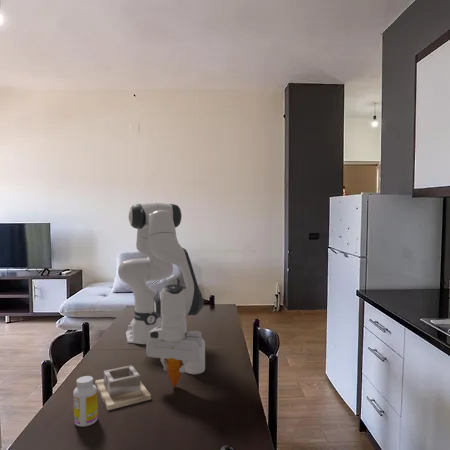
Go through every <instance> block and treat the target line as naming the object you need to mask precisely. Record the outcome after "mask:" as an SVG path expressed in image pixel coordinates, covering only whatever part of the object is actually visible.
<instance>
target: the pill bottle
mask: <svg viewBox="0 0 450 450" xmlns="http://www.w3.org/2000/svg"><path fill="white" fill-rule="evenodd" d="M187 333H189V334H198V336H200V337H201V338H202V331H200V330H189V331H187ZM202 353H203V357H202V359H201V360H200V361H199V362H191V361H188V363H187V364H186V366H185V372H184V373H187V374H190V375H199V374H202V373H205V370H206V342H205V339H204V338H202Z"/></svg>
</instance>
